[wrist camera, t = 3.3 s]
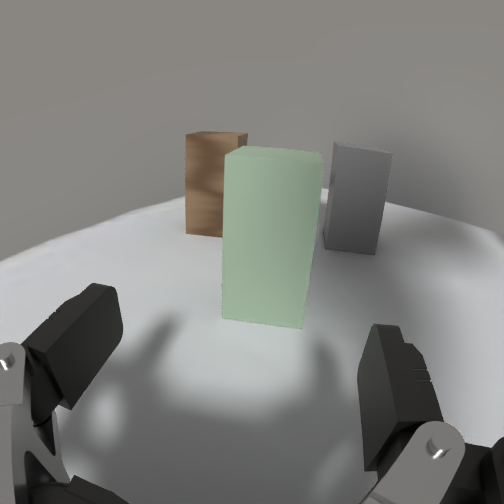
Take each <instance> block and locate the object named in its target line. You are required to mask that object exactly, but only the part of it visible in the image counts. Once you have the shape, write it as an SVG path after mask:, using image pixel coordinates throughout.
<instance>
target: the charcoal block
mask: <svg viewBox="0 0 504 504" xmlns="http://www.w3.org/2000/svg"><path fill="white" fill-rule="evenodd" d="M391 158H392V154H391V153H389V152H387V151H385V150H383V149H381V148H376V147H369V146H363V145H356V144H350V143H343V142H335V141H334V147H333V157H332V166H331V175H330V184H329V192H328V200H327V208H326V216H325V223H324V230H323V233H324V241H325V249H329V250H337V251H345V252H354V253H362V254H370V255H375V251H376V246H377V241H378V237H379V232H380V226H381V221H382V216H383V210H384V205H385V198H386V193H387V186H388V180H389V173H390V166H391Z"/></svg>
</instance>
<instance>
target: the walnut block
mask: <svg viewBox="0 0 504 504" xmlns="http://www.w3.org/2000/svg"><path fill="white" fill-rule="evenodd" d="M247 137H248V134H247V133H233V132H197V133H192V134H187V135H186V154H185V155H186V156H185V206H186V234H195V235H204V236H213V237H222V238H223V200H224V167H225V155H226V154H228V153H230V152H232V151H234V150H236V149H238V148H240V147H242V146H247Z"/></svg>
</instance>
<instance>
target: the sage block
mask: <svg viewBox="0 0 504 504" xmlns="http://www.w3.org/2000/svg"><path fill="white" fill-rule="evenodd" d="M323 171H324V162H323V159H322V156H321V154H320V153H319V152H310V151H301V150H291V149H280V148H279V149H278V148H268V147H254V146H242V147H240V148H238V149H236V150H234V151H232V152H230V153H228V154H226V155H225V167H224V200H223V247H222V319H229V320H236V321H243V322H250V323H257V324H265V325H272V326H280V327H289V328H297V329H301V328H302V323H303V317H304V311H305V305H306V299H307V292H308V286H309V280H310V273H311V266H312V259H313V252H314V245H315V238H316V230H317V222H318V214H319V206H320V198H321V189H322V180H323Z"/></svg>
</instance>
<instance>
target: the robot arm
mask: <svg viewBox="0 0 504 504" xmlns="http://www.w3.org/2000/svg"><path fill="white" fill-rule="evenodd" d="M122 335H123V323H122V318H121V313H120V307H119V302H118V296H117V292H116V289H115V288H114V287H112V286H107V285H102V284H97V283H92V284H90V285H89V286H88V287H87V288H86V289H85V290H84V291H82V292H81V293H80V294H79V295H77V296H75V297H73V298H71V299H69V300H67V301H65V302H64V303H63V304H62V305H61V306H60V307H59V308H58V309H57V310H56V312H53V313H52V314H51V315H50V316H49V319H46V320H45V321H44V322H43V323H42V324H41V325H40V326H39V327H38V328H37V329H36V330H35V331H34V332H33V333H32V334H31V335H30V336H29V337H28V338H27V339H26V340H25V341H24V342H23V343H22V344H18V343H14V342H9V343H4V344H1V345H0V504H129V503H128V502H126V501H125V500H123V499H122V498H120V497H119V496H117V495H116V494H115V493H113V492H111V491H109V490H106V489H104V488H102V487H99V486H97V485H95V484H93V483H90V482H88V481H86V480H84V479H82V478H80V477H78V476H76V475H74V476H73V478H72V480H71V481H70V478H69V476H68V474H67V472H66V470H65V468H64V465H63V461H62V455H61V448H60V441H59V433H58V423H57V415H56V412H55V410H54V409H55V408H56V407H57V405H60V406H63V407H65V408H67V409H69V410H72V408H73V407H74V405H75V404H76V403H77V401H78V400H79V398H80V397H81V395H82V394H83V393H84V391H85V390H86V388H87V387H88V385H89V384H90V383H91V381H92V380H93V378H94V377H95V376H96V374H97V373H98V372H99V370H100V369H101V367H102V366H103V365H104V363H105V362H106V360H107V359H108V358H109V356H110V355H111V354H112V352H113V351H114V350H115V348H116V347H117V346H118V344H119V343H120V341H121V338H122ZM430 380H431V378H430V375H429V373H428V371H427V367H426V364H425V361H424V358H423V355H422V354H421V353H420V352H419V351H418V350H417V349H416V347H415V346H414V345H413V344H410V343H404V340H403V337H402V334H401V331H400V328H399V327H398V326H393V325H380V324H373V326H372V327H371V330H370V333H369V336H368V339H367V342H366V345H365V348H364V351H363V354H362V357H361V360H360V363H359V368H358V375H357V383H358V392H359V402H360V413H361V424H362V437H363V452H364V470H365V471H377V473H378V481H377V482H376V484H375V485H374V486H373V487H372V489H371V490H370V491H369V492H368V493H367V495H366V496H365V497H364V498H363V499H362V501H361V502H360V503H359V504H504V437H502V438H501V439H499V440H498V441H497V442H496V443H495V445H494V446H493V447H492V448H489V447H484V446H478V445H473V444H468V443H465V442H464V439H463V437H462V435H461V434H460V432H459V431H458V430H457V429H456V428H454V427H453V426H451V425H450V424H447V423H445V422H444V420H443V417H442V413H441V410H440V407H439V403H438V400H437V397H436V394H435V391H434V388H433V384H432V382H430Z"/></svg>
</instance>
